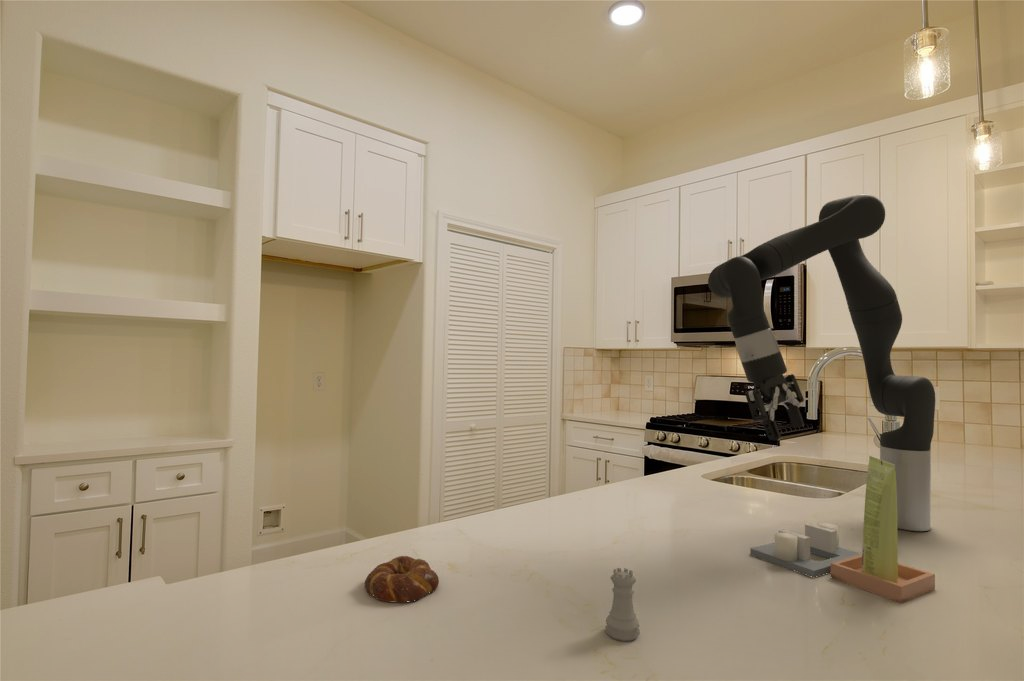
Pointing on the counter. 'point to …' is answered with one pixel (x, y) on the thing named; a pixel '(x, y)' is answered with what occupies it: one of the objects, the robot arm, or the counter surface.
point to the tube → (880, 521)
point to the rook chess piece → (622, 608)
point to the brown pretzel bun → (401, 580)
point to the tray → (905, 589)
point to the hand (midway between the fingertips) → (787, 433)
